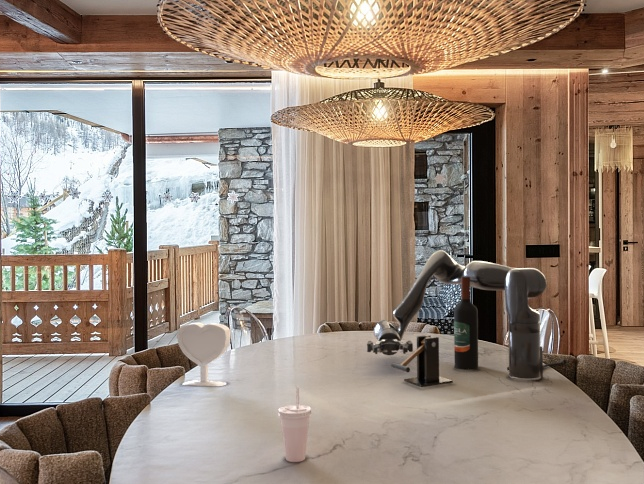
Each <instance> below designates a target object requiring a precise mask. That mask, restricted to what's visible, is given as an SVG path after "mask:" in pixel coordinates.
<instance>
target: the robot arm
mask: <svg viewBox="0 0 644 484" xmlns="http://www.w3.org/2000/svg"><path fill="white" fill-rule="evenodd" d="M432 277H434V278H435V279H437V281H439V282H440V283H442V284H447V285H461V277H470V288H473V289H479V290H482V291H483V290H484V291H504V303H505V305H504V306H505V312H506V314H507V320H508V322H507V327H508V328H507V330H508V335H507V336H508V339H507V340H508V366H507V367H506V371H508V377H509V378H511V379H515V380H523V381H524V380H525V381H531V382H532V381H533V382H537V381H540V380H541V379H543V378H544V369H545V368H546V367H552V366H560V365H563V364H564V363H566V359H565V358H564V357H562V359H561V361H559V362H552V363H546V364H544V363H543V361H544V357H543V354H544V353H543V352H544V351H543V349H544V348H543V346H542V345H541V317H540V315H541V314H540V312H539V311H537V310H535V309H533V308H531V307H530V305H529V299H535V298H538V297H540V296H542V295H543V294H544V293H545V291H546V290H547V287H548V286H547V285H548V283H547V279H546V278H547V277H545V275H544V274H543V273H542V272H541V271H540V270H539V269H537V268H534V267H525V268H524V267H522V268H517V267H510V266H506V265H502V264H498V263H493V262H488V261H483V260H473V261H470V262H469V263H467V264H466V265H465V266H464V265H461V264H460V263H457V262H456V260H455V259H454V258H453V257H451V256H450V255H449V253H448V252H446V251H445V250H443V249H439V250H436V251H435V252H433V253H432V254H431V255H430V256H429V257H428V259H427V260H426V261H425V263H424V265H423V267H422V268H421V270H420V272H419V273H418V276H417V277H416V279H415V280H414V282H413V284H412V286H411V287H410V289H409V291H408V292H407V294H406V295H405V296H404V298H402V300H401V301H400V302H399V304H398V305H397V307H395V309H394V310H393V312H392V316H393V318H394V319H395V320H396V322H397V323H398V327H396V326H394V325H393V323H391V322H390V321H388V320H386V319H381V320H380V321H378V322H377V323H376V324H375V326H374V328H373V336H374V337H375V339H376V343H374V342H373V341H372V340H368V341H367V343H366V352H367V353H371V352H372V353H374V354H375V355H378V353H379V354H383V355H385V356H394V355H396V354H397V353H398V354H399V353H402V354H403V355H406V353H408V352H409V353H413V352H414V343H413V342H412V340H407V341H405V343H404V341H403V338H404V335H405V333H406V330H407V329H408V326H409V325H410V323H411V322H412V321H413V319H414V318H415V317H416V316H417V315H418V313H419V312H420V310H421V309H422V307H423V303H424V300H425V294H426V289H427V287H428V283H429V282H430V279H431V278H432Z"/></svg>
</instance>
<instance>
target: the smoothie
mask: <svg viewBox="0 0 644 484" xmlns="http://www.w3.org/2000/svg"><path fill="white" fill-rule="evenodd" d="M311 415H312V407H310V406H309V405H305V404H300V387H299V386H296V387H295V404H288V405H284V406H281V407H279V408H278V417H280V424H281V425H280V426H281V430H282V440H283V447H284V455H285V460H286V461H287V462H290V463H300V462H303V461H305V460H306V452H307V444H308V434H309V427H310V426H309V425H310V418H311V417H310V416H311Z"/></svg>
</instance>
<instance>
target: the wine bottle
mask: <svg viewBox="0 0 644 484" xmlns="http://www.w3.org/2000/svg"><path fill="white" fill-rule="evenodd" d="M460 297H461V298H460V302H459V303H458V304H457V305H456V306H455V307H454V309H453V336H454V337H453V339H454V341H453V343H454V344H453V349H454V353H453V355H454V356H453V357H454V368H455V369H458V370H463V371H464V370H466V371H471V370H477V369H478V368H479V314H478V313H479V311H478V308H477V306H476V305H475V304H473V302H472V301H471V287H470V277H461V284H460Z"/></svg>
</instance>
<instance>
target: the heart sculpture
mask: <svg viewBox="0 0 644 484" xmlns="http://www.w3.org/2000/svg"><path fill="white" fill-rule="evenodd" d="M231 337H232V335H231V328H229V327H228V326H227V325H225V324H222V323H218V322H211V323H207V324H204V323H202V322H192V323H188V324H185V325H182V326H181V327H179V328H178V329H177V334H176V338H177V344H178V345H177V346H178V347H179V349H180V350H181V352H182V354H183V355H184V356H185V357H186V358H188V359H189V360H190V361H191V362H193V363H194V364H196V365H197V366H199V367H200V370H199V371H200V374H199V375H200V379H199V380H189V381H185V382H182V385H181V386H195V387H197V386H198V387H224V386H227V382H226V381H216V380H209V365H210V364H211V363H212V362H214V361H216V360H218V359H219V358H220V357H221V356H222V355H224V354H225V353H226V351H227V350H228V348H229V346H230V343H231Z"/></svg>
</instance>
